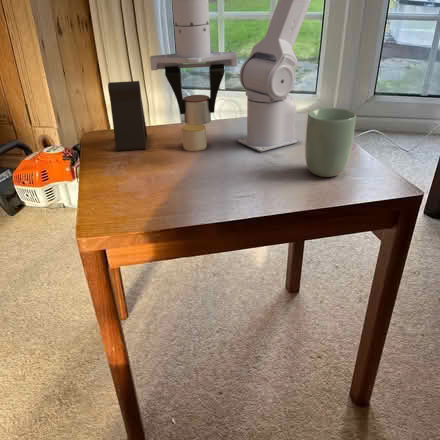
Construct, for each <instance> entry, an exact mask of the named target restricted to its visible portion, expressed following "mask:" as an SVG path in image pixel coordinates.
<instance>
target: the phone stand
mask: <svg viewBox="0 0 440 440" xmlns="http://www.w3.org/2000/svg"><path fill="white" fill-rule="evenodd" d="M140 83H141V82H140V80H135V81H134V80H133V81H131V80H129V81H111V82H108V83H107V90H108V97H109V103H110V110H111V119H112V127H113V135H114V136H113V137H114V144H115V151H116V152H124V151H125V152H126V151H143V150H147V144H148V132H147V131H148V130H147V123H146V119H145V111H144V105H143V104H144V103H143V99H142V98H143V97H142V91H141V84H140Z"/></svg>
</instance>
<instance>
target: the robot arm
mask: <svg viewBox="0 0 440 440" xmlns="http://www.w3.org/2000/svg"><path fill="white" fill-rule="evenodd" d="M171 3H172V16H173V28H174V39H175V41H174V42H175V53H168V54H167V53H166V54H159V55H158V54H157V55H150V57H149V64H150V70H151V71H158V70H164V75H165V78H166V80H167V82H168V83H169V86H170V87H171V89H172V91H173V94H174V97H175V100H176V102H177V105H178V109H179V114H180V115H184V105H183V98H184V97H183V87H182V75H181V69H192V68H208V71H209V74H208V75H209V90H210V91H209V98H210V113H211V114H214V113H215V107H216V102H217V101H216V100H217V97H218V93H219V89H220V86H221V83H222V81H223V78H224V77H225V67H232V68H233V67H238V53H237V52H236V51H211V32H210V31H211V30H210V29H211V28H210V27H211V26H210V7H209V0H171ZM311 3H312V0H277V3H276V6H275V8H274V11H273V14H272V17H271V19H270V21H269V25H268V28H267V30H266V33H265V35H264V37H263V38H262V39H261V40H259V42H257V43H256V44H255V45H254V46H253V47H252V49H251V51H250V53H249V55H248V57H247V58H246V59H245V60H244V61H243V63H242V65H241V67H240V70H239V82H240V85H241V86H242V88H243V89H244V91H245V96H246V97H247V98H246V101H247V102H246V137H243V138H239V139H238V143H240V144H242V145H244V146H246V147H249V148H251V149H252V150H255V151H257V152H259V153H263V152H266V151H270V150H274V149H278V148H282V147H286V146H289V145H293V144H297V142H298V140H297V139H296V138H295V137H296V123H297V122H296V121H297V105H296V101H295V100H294V98H293V96H291V95H290V93H291V91H292V89H293V86H294V83H295V73H296V69H297V66H298V64H299V61H298V59H297V56H296V54H295V52H294V49H293V48H294V45H295V44H296V40H297V38H298V35H299V32H300V30H301V28H302V25H303V22H304V19H305V17H306V15H307V11H308V9H309V6H310V5H311Z"/></svg>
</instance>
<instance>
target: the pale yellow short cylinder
mask: <svg viewBox="0 0 440 440" xmlns="http://www.w3.org/2000/svg"><path fill="white" fill-rule="evenodd" d="M181 137H182V147H183V149H184V150H185V151H190V152H199V151H203V150H205V149H206V148H207V147H208V143H207V128H206V126H205V124H203V125H190V124H185V125H183V126H182V128H181Z"/></svg>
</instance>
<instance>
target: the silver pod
mask: <svg viewBox="0 0 440 440" xmlns="http://www.w3.org/2000/svg"><path fill="white" fill-rule="evenodd" d="M183 105H184V114H183V117H184V118H183V119H184V120H183V121H184V123H185V125H188V124H190V125H206V124H210V123H211V122H212V113H210V95H207V94H191V95H190V94H189V95H186V96H184V97H183Z"/></svg>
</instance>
